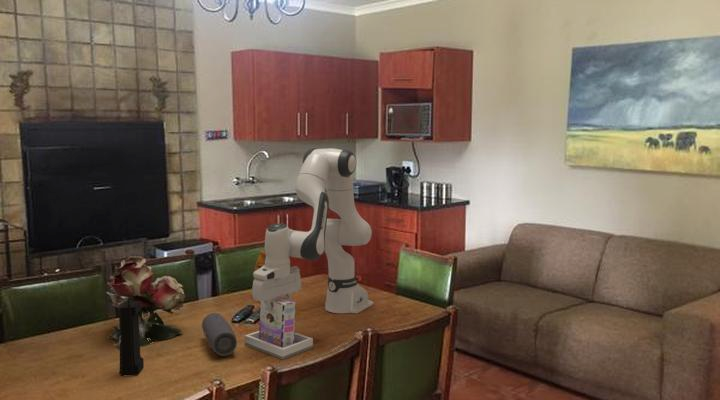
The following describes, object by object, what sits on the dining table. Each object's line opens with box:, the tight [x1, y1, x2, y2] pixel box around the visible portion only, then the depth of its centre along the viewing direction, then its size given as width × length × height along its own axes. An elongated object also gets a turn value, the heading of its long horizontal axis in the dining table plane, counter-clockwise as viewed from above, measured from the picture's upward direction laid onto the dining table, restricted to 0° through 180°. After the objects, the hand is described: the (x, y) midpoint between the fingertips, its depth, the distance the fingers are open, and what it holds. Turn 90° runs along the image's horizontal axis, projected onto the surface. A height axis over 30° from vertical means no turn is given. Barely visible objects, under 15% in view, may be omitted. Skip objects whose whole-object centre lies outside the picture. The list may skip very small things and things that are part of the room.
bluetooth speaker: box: [201, 312, 238, 357], centre depth 218 cm, size 23×9×10 cm, turn 23°
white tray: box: [244, 330, 314, 361], centre depth 220 cm, size 14×20×4 cm
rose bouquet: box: [105, 255, 186, 349], centre depth 231 cm, size 26×29×30 cm
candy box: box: [258, 297, 297, 348], centre depth 219 cm, size 14×6×16 cm, turn 45°
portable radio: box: [118, 299, 145, 377], centre depth 197 cm, size 8×6×25 cm
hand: (277, 308), depth 218 cm, fingers open, 6 cm apart
